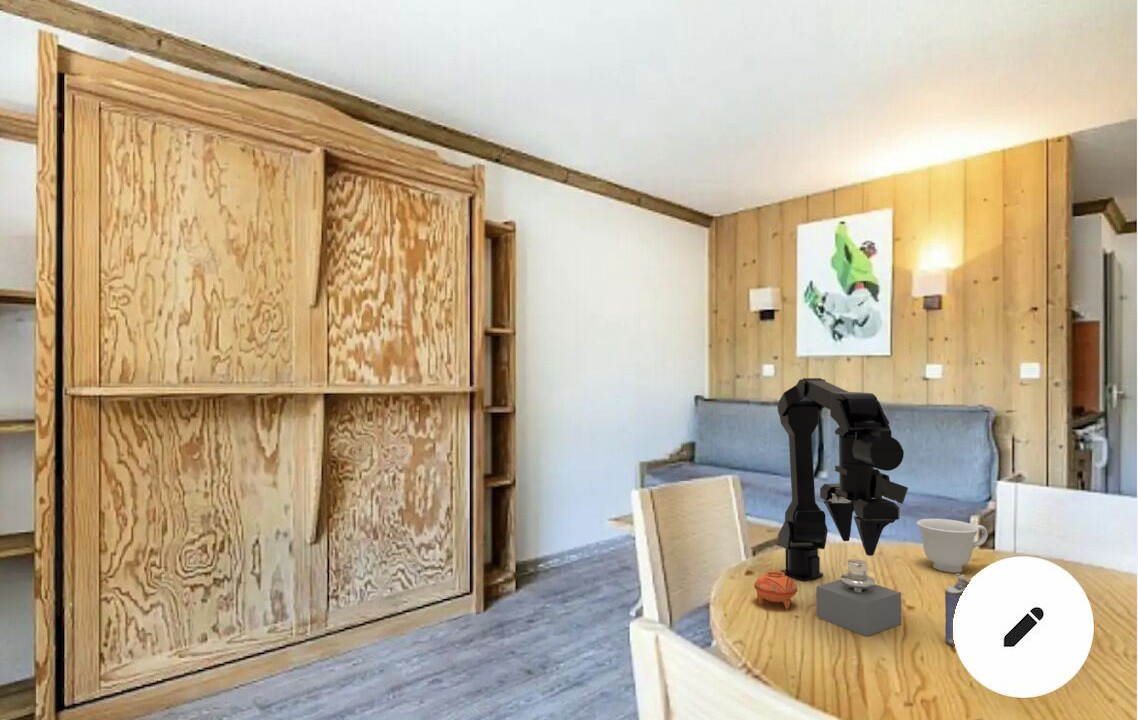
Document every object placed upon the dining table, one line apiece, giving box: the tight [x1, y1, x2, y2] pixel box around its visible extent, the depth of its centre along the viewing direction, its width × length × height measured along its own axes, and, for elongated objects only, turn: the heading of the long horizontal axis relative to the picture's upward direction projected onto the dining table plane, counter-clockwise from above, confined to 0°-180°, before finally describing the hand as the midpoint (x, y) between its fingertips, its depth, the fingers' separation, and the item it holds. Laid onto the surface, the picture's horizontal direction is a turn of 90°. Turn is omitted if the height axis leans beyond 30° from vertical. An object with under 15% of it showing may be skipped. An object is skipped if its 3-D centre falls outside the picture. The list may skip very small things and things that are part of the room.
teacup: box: [916, 518, 989, 574], centre depth 141 cm, size 12×15×10 cm
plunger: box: [840, 558, 876, 593], centre depth 112 cm, size 7×7×10 cm
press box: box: [815, 578, 902, 637], centre depth 112 cm, size 10×10×6 cm
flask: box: [944, 573, 971, 648], centre depth 104 cm, size 9×3×11 cm, turn 121°
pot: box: [753, 570, 798, 610], centre depth 120 cm, size 8×8×7 cm
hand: (857, 547), depth 113 cm, fingers open, 9 cm apart
